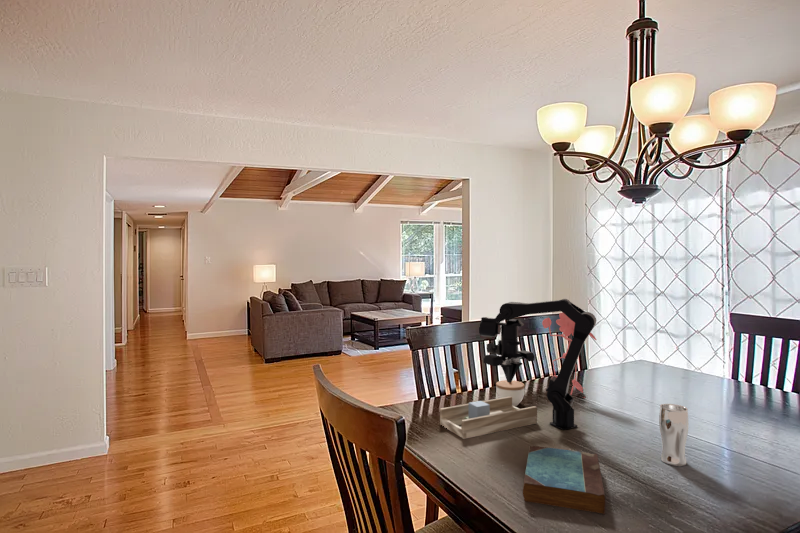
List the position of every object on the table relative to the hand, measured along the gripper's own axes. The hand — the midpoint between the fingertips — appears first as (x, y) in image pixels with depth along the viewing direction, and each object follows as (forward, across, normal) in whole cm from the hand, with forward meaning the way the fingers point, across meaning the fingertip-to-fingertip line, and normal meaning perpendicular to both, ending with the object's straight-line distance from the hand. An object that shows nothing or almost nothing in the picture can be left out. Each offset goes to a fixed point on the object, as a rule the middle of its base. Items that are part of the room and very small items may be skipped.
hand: (509, 382), depth 165 cm
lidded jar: (+13, -11, -12) cm, 21 cm away
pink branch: (+13, -46, -14) cm, 50 cm away
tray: (+12, +10, +2) cm, 16 cm away
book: (+13, +21, +44) cm, 51 cm away
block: (+10, +14, +2) cm, 18 cm away
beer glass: (+12, -16, +49) cm, 53 cm away
